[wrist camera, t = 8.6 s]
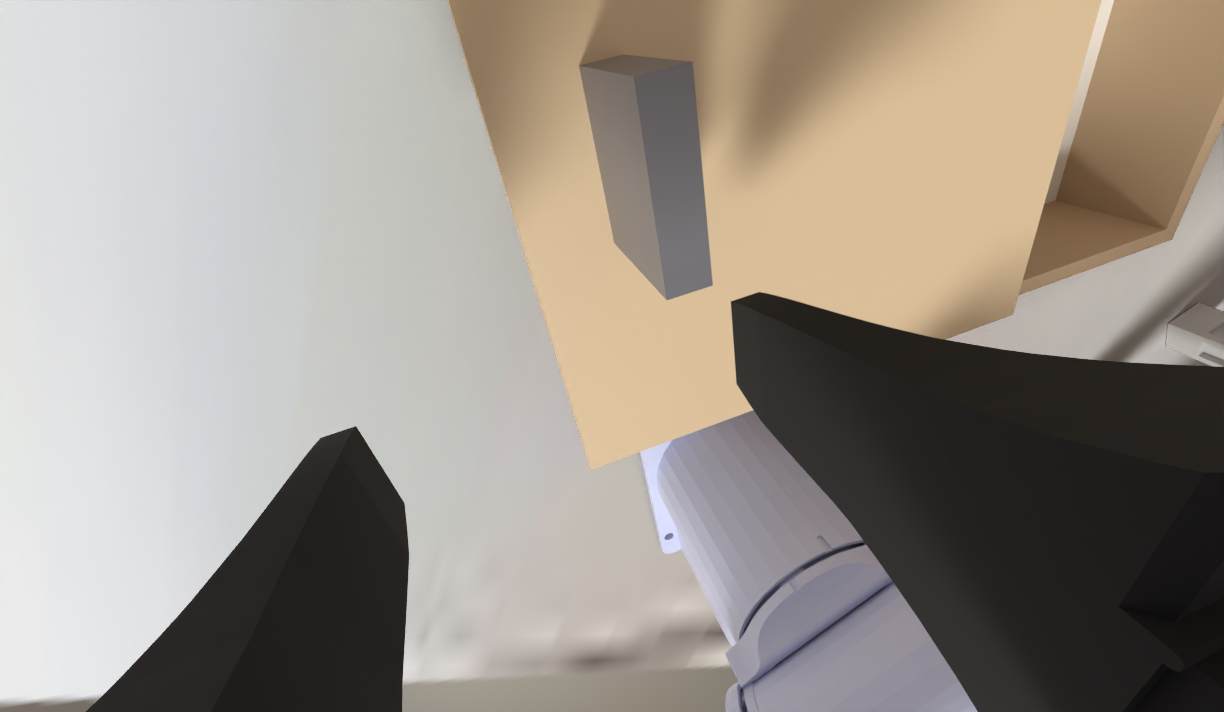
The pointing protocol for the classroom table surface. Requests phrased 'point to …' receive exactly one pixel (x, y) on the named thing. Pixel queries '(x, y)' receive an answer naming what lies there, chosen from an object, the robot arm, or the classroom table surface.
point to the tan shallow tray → (1132, 135)
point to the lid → (763, 175)
